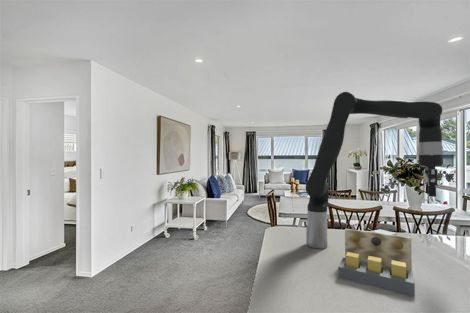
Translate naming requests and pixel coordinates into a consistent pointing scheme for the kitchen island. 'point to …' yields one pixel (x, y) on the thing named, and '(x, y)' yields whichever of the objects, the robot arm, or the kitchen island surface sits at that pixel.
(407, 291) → the board
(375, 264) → the button mid
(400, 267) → the button right
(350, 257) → the button left
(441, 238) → the kitchen island surface
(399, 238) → the card
